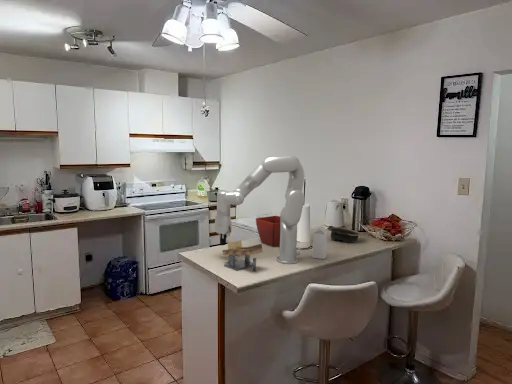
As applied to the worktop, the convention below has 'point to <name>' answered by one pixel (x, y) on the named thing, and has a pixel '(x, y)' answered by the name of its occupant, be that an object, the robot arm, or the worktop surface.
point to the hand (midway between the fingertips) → (222, 244)
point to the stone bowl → (344, 234)
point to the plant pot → (269, 230)
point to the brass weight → (234, 245)
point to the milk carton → (319, 243)
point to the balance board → (245, 250)
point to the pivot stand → (240, 263)
